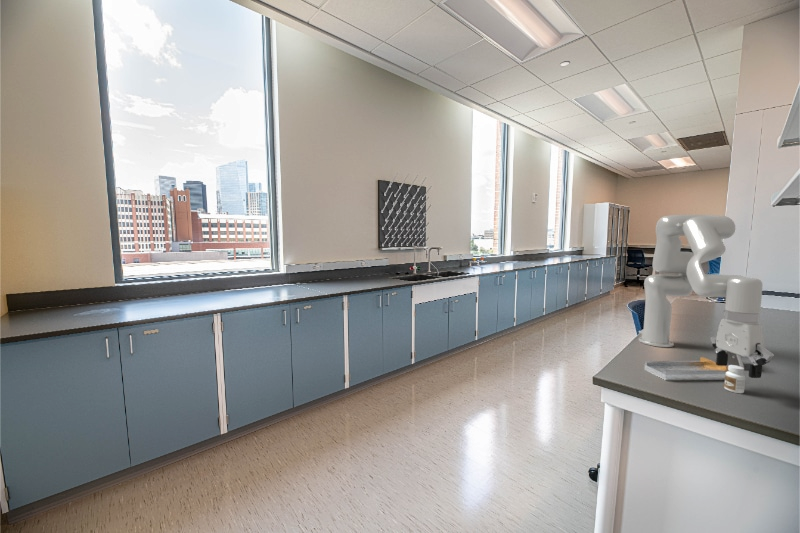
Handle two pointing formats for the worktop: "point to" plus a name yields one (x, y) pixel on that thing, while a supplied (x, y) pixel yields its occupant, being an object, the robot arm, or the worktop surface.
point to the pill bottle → (735, 379)
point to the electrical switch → (734, 359)
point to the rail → (687, 370)
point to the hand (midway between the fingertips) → (737, 371)
